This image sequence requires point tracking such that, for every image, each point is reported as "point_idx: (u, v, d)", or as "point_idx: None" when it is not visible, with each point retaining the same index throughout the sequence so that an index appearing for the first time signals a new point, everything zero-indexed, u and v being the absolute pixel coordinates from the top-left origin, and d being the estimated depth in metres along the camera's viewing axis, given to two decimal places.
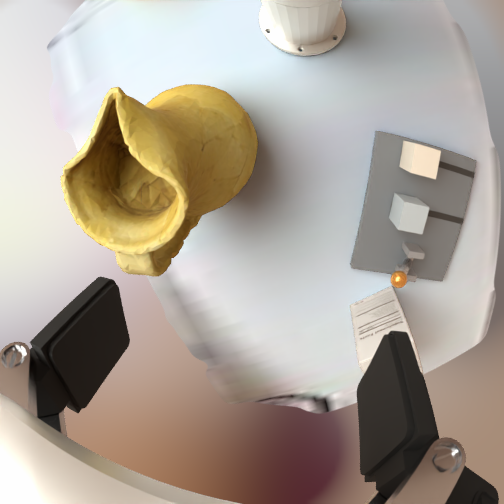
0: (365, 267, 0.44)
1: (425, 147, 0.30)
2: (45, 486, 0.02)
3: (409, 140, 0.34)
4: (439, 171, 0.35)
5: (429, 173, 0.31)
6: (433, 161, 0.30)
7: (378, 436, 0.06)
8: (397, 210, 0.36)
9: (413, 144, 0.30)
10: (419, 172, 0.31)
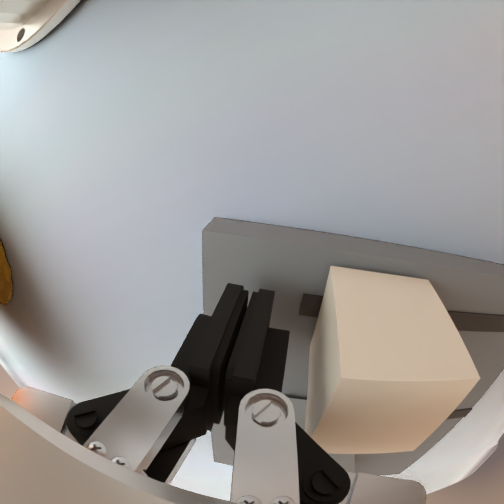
0: None
1: (402, 385, 0.05)
2: (45, 486, 0.02)
3: (340, 257, 0.10)
4: None
5: (391, 446, 0.07)
6: (425, 418, 0.06)
7: None
8: None
9: (337, 362, 0.06)
10: (345, 449, 0.07)
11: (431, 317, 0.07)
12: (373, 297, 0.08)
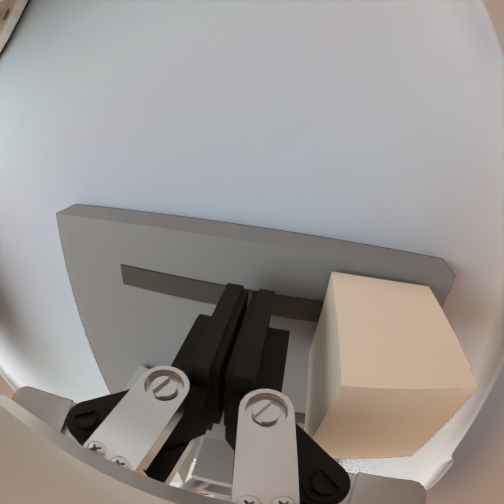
0: None
1: (401, 393, 0.05)
2: (45, 486, 0.02)
3: (137, 230, 0.11)
4: (276, 326, 0.12)
5: (389, 451, 0.06)
6: (423, 425, 0.06)
7: None
8: None
9: (337, 369, 0.06)
10: (344, 454, 0.07)
11: (431, 324, 0.07)
12: (374, 304, 0.08)
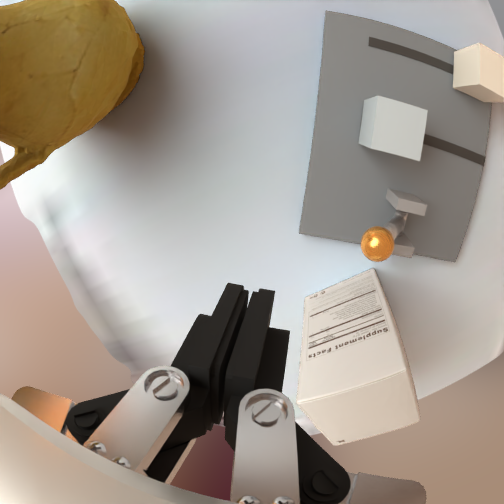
0: (323, 232, 0.27)
1: (493, 52, 0.11)
2: (45, 486, 0.02)
3: (380, 24, 0.17)
4: (438, 74, 0.18)
5: (503, 91, 0.13)
6: None
7: None
8: (368, 120, 0.19)
9: (475, 46, 0.12)
10: (491, 86, 0.13)
11: None
12: None
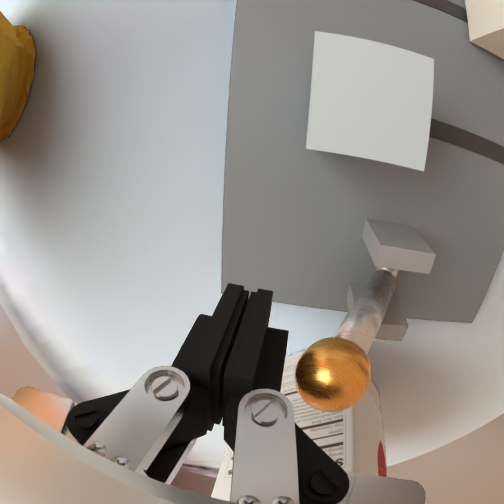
0: None
1: None
2: (45, 486, 0.02)
3: None
4: (443, 19, 0.08)
5: None
6: None
7: None
8: None
9: None
10: None
11: None
12: None
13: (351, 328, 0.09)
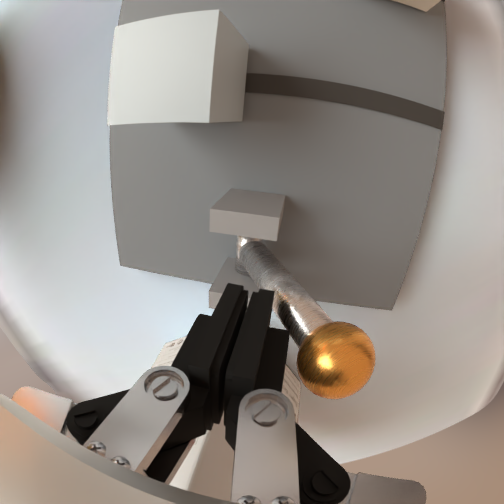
0: (148, 265, 0.18)
1: None
2: (45, 486, 0.02)
3: None
4: None
5: None
6: None
7: None
8: None
9: None
10: None
11: None
12: None
13: (308, 312, 0.09)
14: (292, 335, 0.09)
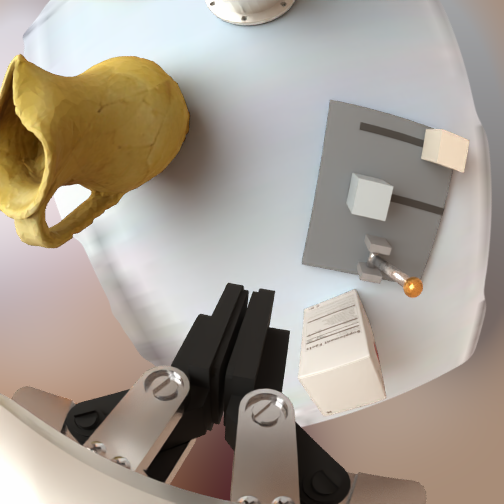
0: (319, 264, 0.38)
1: (453, 135, 0.23)
2: (45, 486, 0.02)
3: (370, 110, 0.29)
4: (410, 148, 0.30)
5: (457, 165, 0.25)
6: (461, 152, 0.24)
7: None
8: (353, 191, 0.30)
9: (439, 131, 0.24)
10: (446, 163, 0.25)
11: None
12: None
13: (404, 275, 0.30)
14: (400, 281, 0.30)
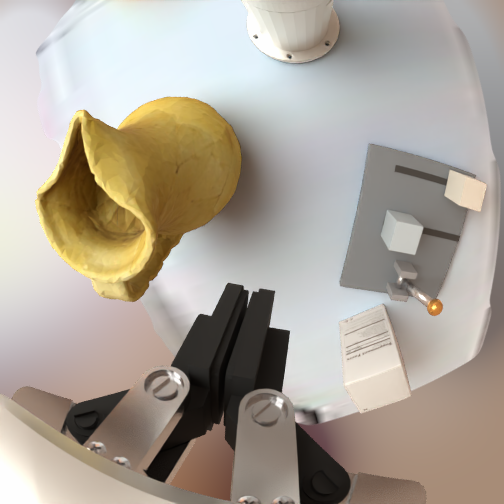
0: (355, 285, 0.43)
1: (474, 180, 0.27)
2: (45, 486, 0.02)
3: (404, 154, 0.33)
4: (435, 187, 0.34)
5: (475, 206, 0.29)
6: (479, 194, 0.28)
7: None
8: (389, 229, 0.35)
9: (463, 177, 0.28)
10: (467, 205, 0.29)
11: (473, 178, 0.29)
12: (461, 174, 0.30)
13: (428, 297, 0.34)
14: (424, 302, 0.34)
